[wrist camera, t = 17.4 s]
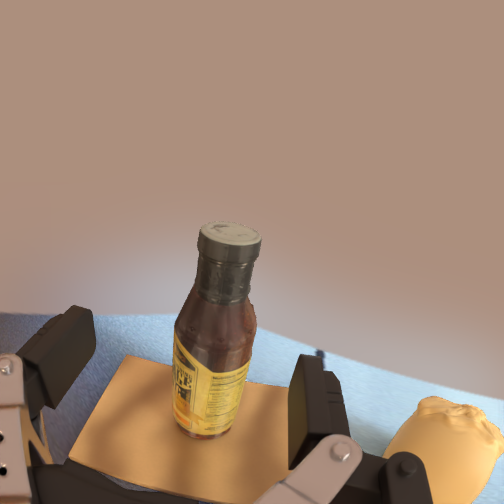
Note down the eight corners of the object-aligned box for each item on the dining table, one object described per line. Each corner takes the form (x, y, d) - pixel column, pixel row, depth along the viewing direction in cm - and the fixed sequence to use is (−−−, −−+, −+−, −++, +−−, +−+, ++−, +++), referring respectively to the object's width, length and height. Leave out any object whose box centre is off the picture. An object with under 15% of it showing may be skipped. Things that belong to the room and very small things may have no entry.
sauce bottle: (171, 396, 30) (181, 209, 23) (229, 397, 31) (263, 218, 24) (173, 446, 24) (180, 241, 17) (239, 446, 25) (289, 250, 18)
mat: (306, 394, 35) (308, 389, 34) (313, 512, 20) (316, 509, 19) (127, 358, 35) (126, 353, 34) (70, 459, 20) (68, 454, 19)
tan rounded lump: (466, 470, 22) (522, 406, 18) (433, 549, 14) (513, 495, 10) (393, 432, 29) (438, 363, 25) (342, 502, 21) (398, 439, 17)
